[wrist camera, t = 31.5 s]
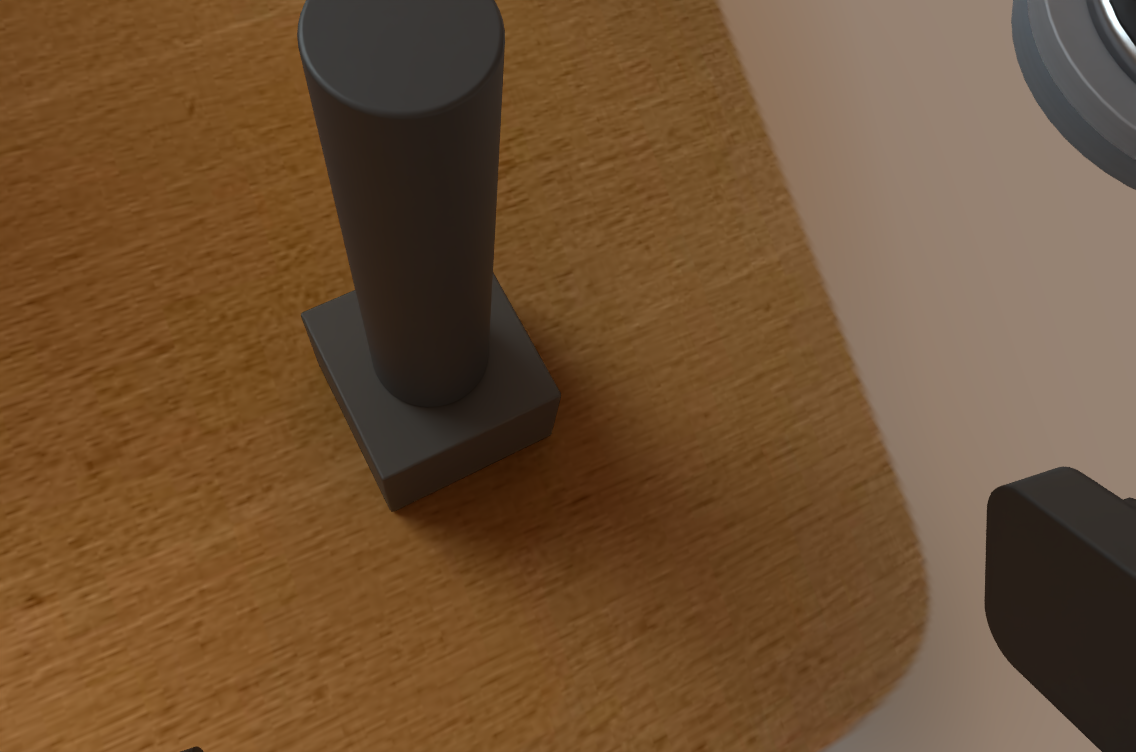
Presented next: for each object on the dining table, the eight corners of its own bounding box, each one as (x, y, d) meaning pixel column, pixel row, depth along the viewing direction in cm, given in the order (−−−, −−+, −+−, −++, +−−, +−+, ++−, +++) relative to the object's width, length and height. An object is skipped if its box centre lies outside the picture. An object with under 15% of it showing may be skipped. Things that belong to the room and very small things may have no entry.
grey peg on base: (474, 291, 27) (479, -145, 14) (552, 434, 26) (638, 101, 13) (317, 360, 26) (168, -44, 13) (391, 513, 25) (308, 235, 12)
